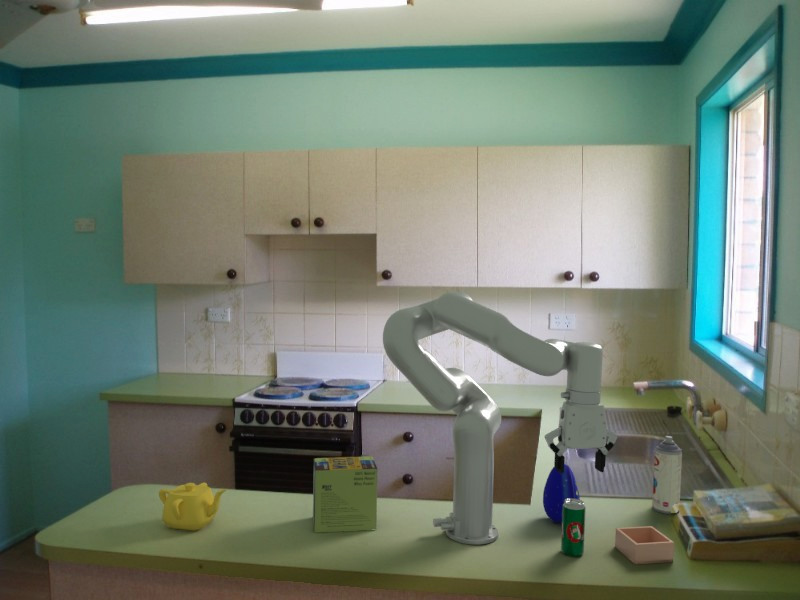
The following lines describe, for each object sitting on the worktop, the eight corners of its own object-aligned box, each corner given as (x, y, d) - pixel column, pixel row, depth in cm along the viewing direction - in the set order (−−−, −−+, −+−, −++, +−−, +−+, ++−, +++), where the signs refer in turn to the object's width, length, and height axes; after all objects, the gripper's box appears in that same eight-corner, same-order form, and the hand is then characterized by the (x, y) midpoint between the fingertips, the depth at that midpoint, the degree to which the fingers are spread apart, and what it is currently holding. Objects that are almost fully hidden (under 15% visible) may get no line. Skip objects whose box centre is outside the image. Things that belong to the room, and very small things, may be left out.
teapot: (212, 511, 177) (212, 472, 177) (227, 528, 166) (227, 487, 166) (157, 520, 170) (157, 480, 170) (168, 539, 159) (168, 496, 159)
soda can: (567, 546, 160) (568, 496, 159) (587, 552, 157) (589, 501, 156) (557, 553, 156) (559, 501, 155) (577, 559, 153) (579, 507, 152)
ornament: (581, 531, 169) (583, 471, 168) (543, 528, 170) (545, 469, 169) (576, 514, 180) (578, 458, 179) (541, 512, 181) (543, 456, 180)
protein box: (377, 530, 167) (378, 468, 166) (313, 533, 165) (314, 470, 163) (371, 514, 177) (373, 455, 176) (312, 516, 175) (312, 457, 174)
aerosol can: (652, 503, 189) (656, 432, 188) (679, 507, 187) (682, 435, 185) (651, 511, 183) (654, 438, 182) (679, 515, 180) (682, 441, 179)
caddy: (635, 564, 151) (636, 544, 151) (614, 546, 160) (615, 528, 160) (673, 561, 153) (674, 542, 152) (650, 544, 162) (651, 526, 162)
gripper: (553, 401, 150) (550, 477, 151) (626, 400, 153) (622, 475, 154) (540, 394, 157) (537, 466, 159) (610, 393, 160) (606, 465, 162)
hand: (579, 470), depth 156 cm, fingers open, 9 cm apart
